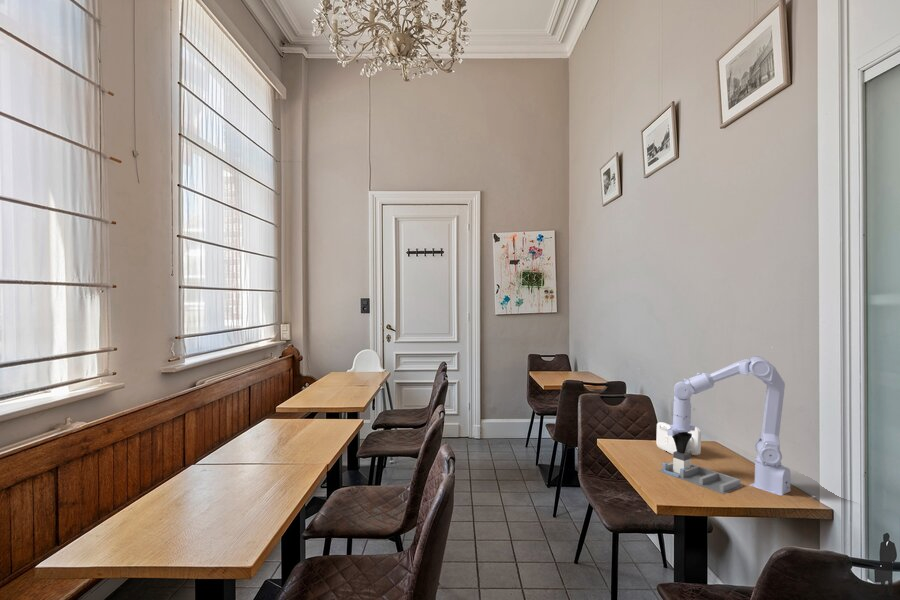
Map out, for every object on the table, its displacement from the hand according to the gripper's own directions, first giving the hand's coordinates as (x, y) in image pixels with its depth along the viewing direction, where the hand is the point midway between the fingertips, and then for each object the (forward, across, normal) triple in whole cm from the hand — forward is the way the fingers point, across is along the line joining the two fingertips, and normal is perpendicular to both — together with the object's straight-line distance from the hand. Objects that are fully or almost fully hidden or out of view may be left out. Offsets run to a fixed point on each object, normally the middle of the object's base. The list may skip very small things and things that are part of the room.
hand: (680, 452), depth 165 cm
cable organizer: (+8, -21, -13) cm, 26 cm away
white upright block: (+7, 0, 0) cm, 7 cm away
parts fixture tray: (+8, 0, +7) cm, 10 cm away
